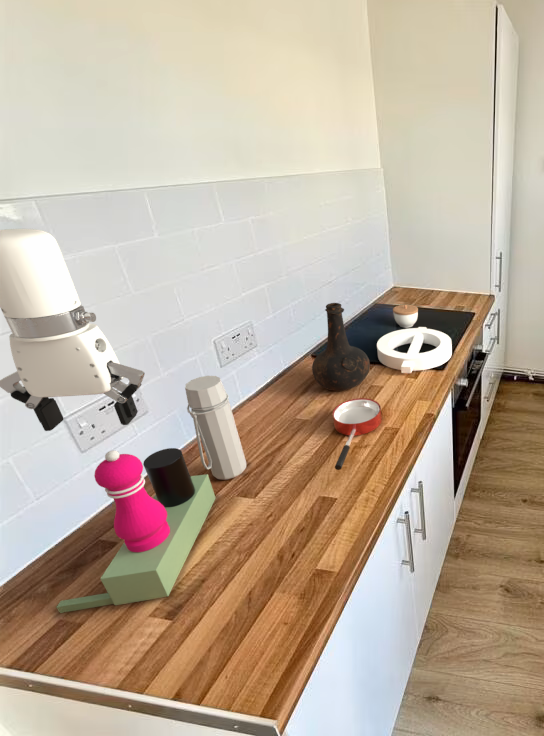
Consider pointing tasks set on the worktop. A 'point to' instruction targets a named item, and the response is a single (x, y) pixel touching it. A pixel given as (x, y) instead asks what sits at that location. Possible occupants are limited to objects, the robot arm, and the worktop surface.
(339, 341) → the glass bottle
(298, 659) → the worktop surface
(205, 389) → the water bottle
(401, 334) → the white circle with bar
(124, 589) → the riser
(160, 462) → the spice tin
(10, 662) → the worktop surface
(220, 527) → the worktop surface
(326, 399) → the worktop surface
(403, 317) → the trinket box
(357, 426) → the frying pan
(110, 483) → the pepper mill
